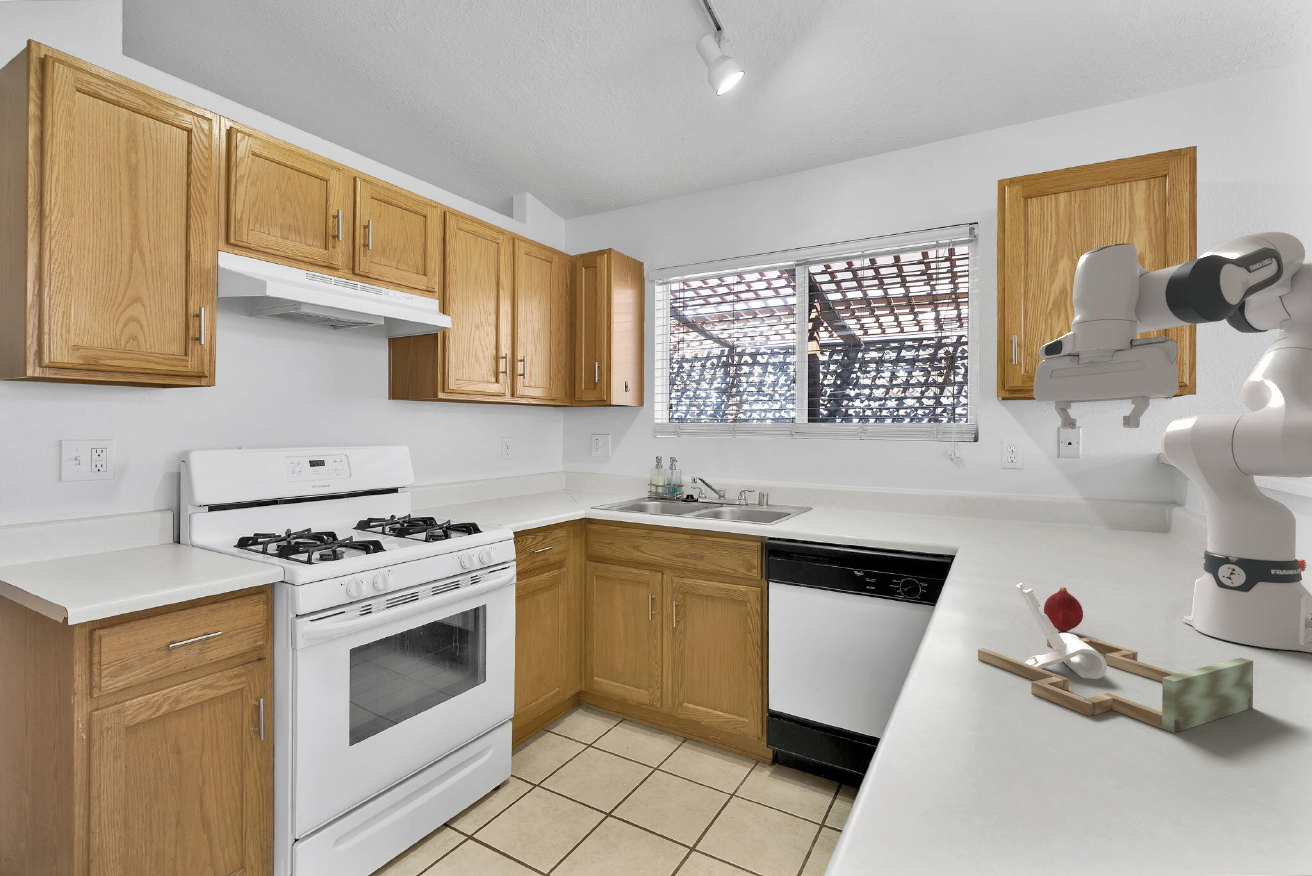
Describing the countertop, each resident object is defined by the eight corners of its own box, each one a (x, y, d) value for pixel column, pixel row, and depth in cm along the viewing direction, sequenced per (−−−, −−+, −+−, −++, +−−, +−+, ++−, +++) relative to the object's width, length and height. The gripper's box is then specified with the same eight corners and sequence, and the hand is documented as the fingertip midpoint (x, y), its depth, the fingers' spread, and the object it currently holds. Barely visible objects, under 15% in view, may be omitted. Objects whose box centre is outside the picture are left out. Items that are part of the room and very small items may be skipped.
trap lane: (1069, 641, 104) (1070, 605, 104) (1271, 701, 80) (1271, 655, 80) (956, 663, 93) (956, 623, 93) (1150, 740, 70) (1151, 687, 70)
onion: (1089, 639, 105) (1089, 592, 105) (1052, 636, 106) (1052, 590, 106) (1073, 628, 111) (1074, 584, 111) (1038, 626, 112) (1038, 582, 112)
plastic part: (1106, 681, 87) (1108, 599, 87) (1027, 673, 90) (1029, 593, 90) (1084, 662, 95) (1085, 586, 94) (1012, 655, 97) (1013, 581, 97)
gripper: (1190, 337, 92) (1186, 429, 92) (1052, 354, 111) (1048, 431, 110) (1166, 330, 90) (1162, 424, 89) (1030, 349, 108) (1025, 427, 108)
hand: (1098, 428), depth 100 cm, fingers open, 8 cm apart
